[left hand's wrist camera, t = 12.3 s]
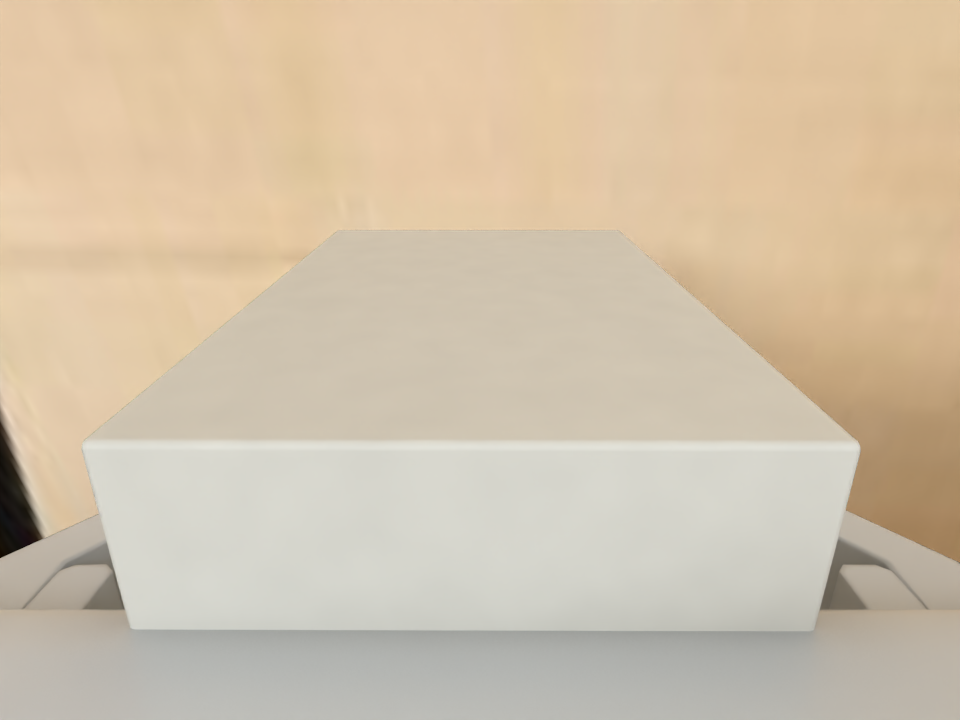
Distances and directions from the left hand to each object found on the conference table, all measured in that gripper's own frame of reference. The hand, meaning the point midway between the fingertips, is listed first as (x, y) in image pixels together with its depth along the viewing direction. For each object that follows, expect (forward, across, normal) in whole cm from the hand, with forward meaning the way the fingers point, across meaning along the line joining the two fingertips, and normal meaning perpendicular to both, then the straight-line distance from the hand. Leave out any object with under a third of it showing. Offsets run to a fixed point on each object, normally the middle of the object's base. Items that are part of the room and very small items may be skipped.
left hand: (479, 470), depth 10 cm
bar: (+3, 0, -10) cm, 11 cm away
